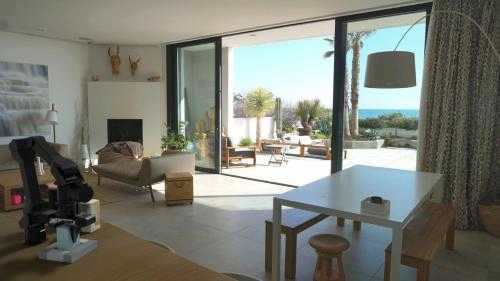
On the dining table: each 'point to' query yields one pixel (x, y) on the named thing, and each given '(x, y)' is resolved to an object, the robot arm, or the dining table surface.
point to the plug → (66, 237)
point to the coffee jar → (53, 197)
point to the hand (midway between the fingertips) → (68, 241)
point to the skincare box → (94, 209)
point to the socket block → (67, 256)
